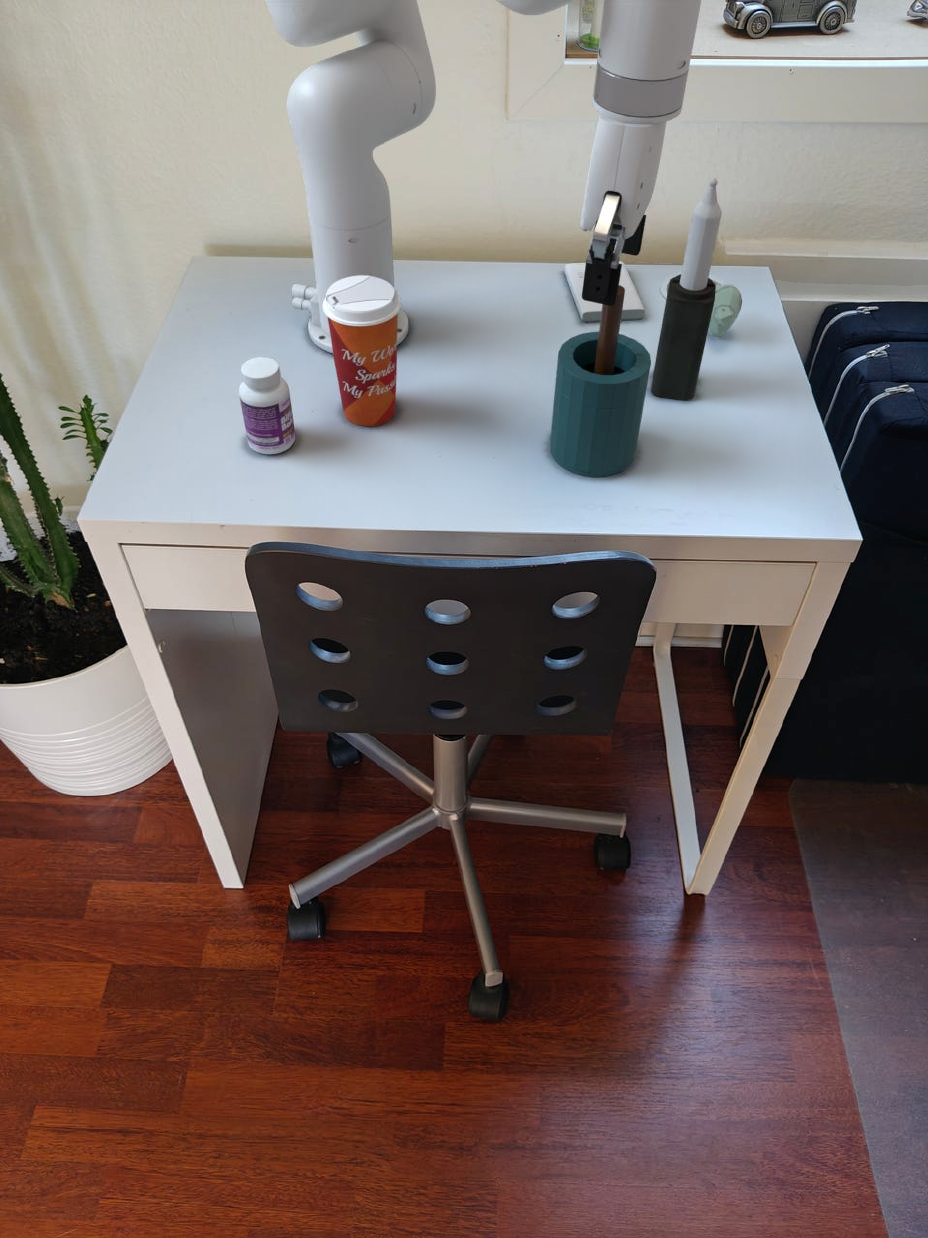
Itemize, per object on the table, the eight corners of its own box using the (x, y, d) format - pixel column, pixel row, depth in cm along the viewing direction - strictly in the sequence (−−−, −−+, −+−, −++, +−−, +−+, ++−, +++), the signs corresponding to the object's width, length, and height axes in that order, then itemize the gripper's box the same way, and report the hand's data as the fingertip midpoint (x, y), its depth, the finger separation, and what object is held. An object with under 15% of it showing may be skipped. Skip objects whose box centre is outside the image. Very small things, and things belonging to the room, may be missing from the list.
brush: (571, 452, 110) (589, 295, 96) (581, 431, 112) (599, 275, 98) (606, 460, 109) (630, 303, 95) (615, 439, 111) (639, 282, 97)
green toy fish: (695, 317, 129) (705, 269, 124) (726, 317, 130) (737, 269, 124) (707, 352, 124) (718, 303, 119) (739, 352, 124) (752, 303, 119)
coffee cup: (350, 440, 112) (339, 321, 101) (323, 401, 117) (309, 283, 105) (418, 419, 114) (414, 301, 103) (388, 382, 119) (382, 265, 108)
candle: (693, 401, 117) (739, 191, 99) (649, 396, 118) (687, 186, 99) (695, 376, 121) (740, 169, 102) (653, 371, 121) (689, 164, 103)
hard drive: (581, 323, 128) (564, 273, 137) (643, 319, 129) (622, 270, 137) (582, 311, 127) (565, 262, 135) (645, 308, 128) (624, 259, 136)
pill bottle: (297, 454, 110) (286, 379, 103) (248, 458, 109) (234, 384, 102) (295, 424, 114) (284, 350, 106) (248, 428, 113) (234, 354, 106)
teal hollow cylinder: (539, 465, 109) (547, 372, 100) (563, 416, 115) (572, 324, 106) (623, 485, 107) (639, 391, 98) (643, 434, 113) (659, 341, 104)
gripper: (620, 44, 89) (596, 227, 102) (567, 120, 78) (548, 314, 91) (703, 57, 88) (668, 241, 100) (661, 136, 77) (628, 331, 90)
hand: (611, 275), depth 96 cm, fingers open, 9 cm apart
